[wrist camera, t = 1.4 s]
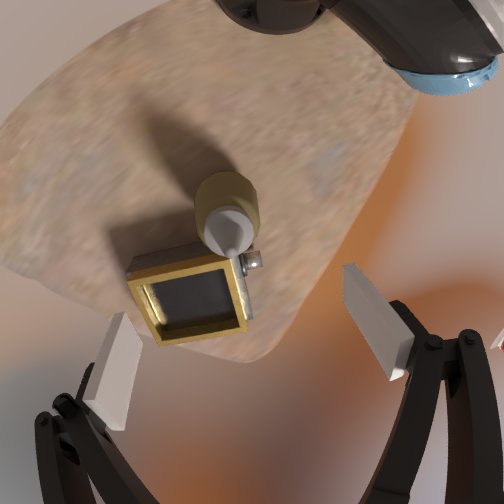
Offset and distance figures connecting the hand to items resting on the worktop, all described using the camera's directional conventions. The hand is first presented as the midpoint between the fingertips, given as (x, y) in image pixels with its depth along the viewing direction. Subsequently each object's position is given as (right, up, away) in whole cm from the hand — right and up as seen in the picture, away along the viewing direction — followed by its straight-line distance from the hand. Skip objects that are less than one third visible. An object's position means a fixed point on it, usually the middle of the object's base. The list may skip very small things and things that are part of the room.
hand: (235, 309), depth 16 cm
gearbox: (-7, -1, +28) cm, 29 cm away
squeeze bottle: (-3, +11, +23) cm, 26 cm away
